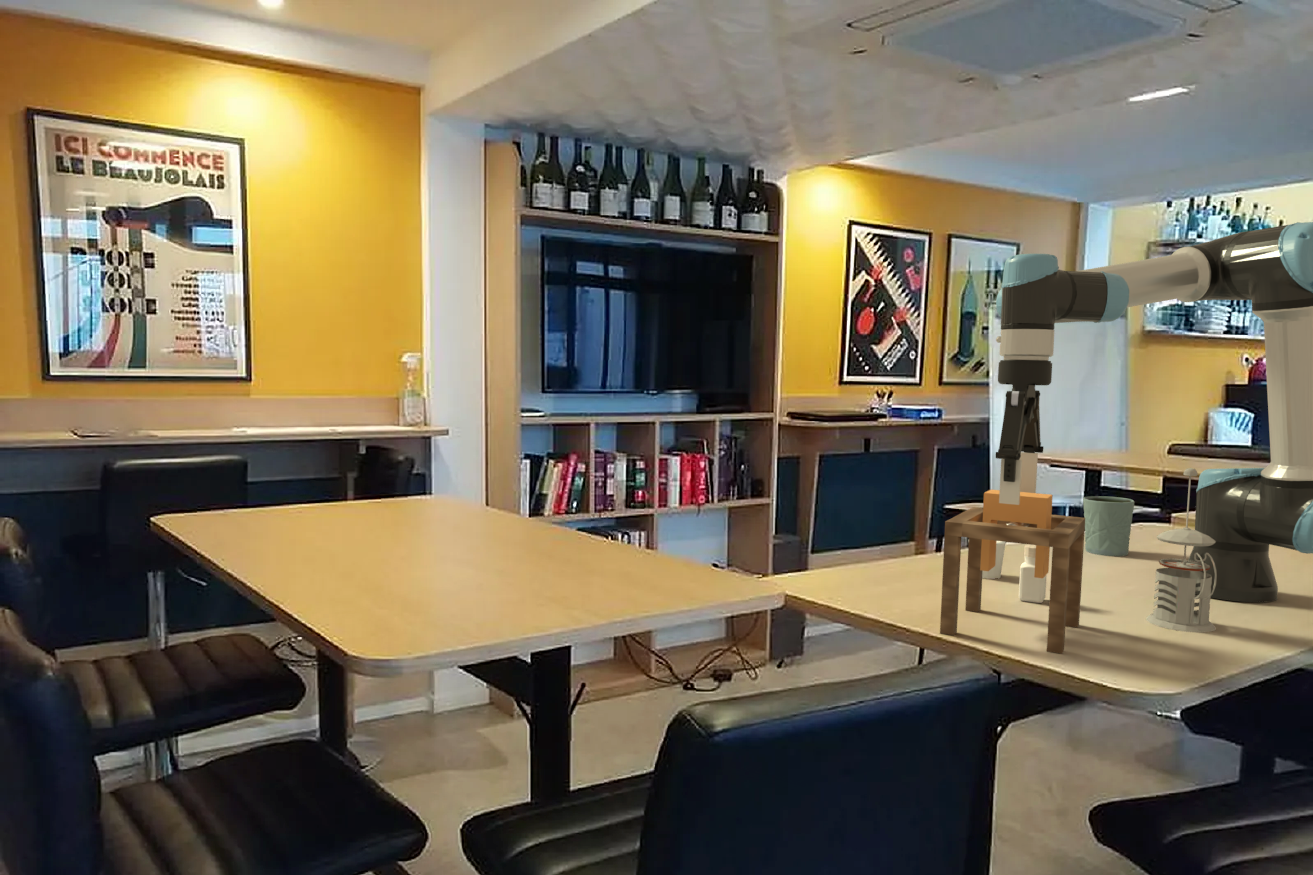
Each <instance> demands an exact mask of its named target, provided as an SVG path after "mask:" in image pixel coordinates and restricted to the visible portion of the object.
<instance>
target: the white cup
mask: <svg viewBox="0 0 1313 875" xmlns="http://www.w3.org/2000/svg"><path fill="white" fill-rule="evenodd" d="M968 543H969V539H968ZM1006 543H1007V542H1003V541H996V561H995V566H994V567H993V568H992V569H991V570H989V571H983V572H982V579H983V578H987V579H986V580H996V579H995V578H998V579H1000V578H1001V575H1002V569H1003V562H1004V555H1005V549H1006Z"/></svg>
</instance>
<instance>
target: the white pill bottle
mask: <svg viewBox="0 0 1313 875" xmlns="http://www.w3.org/2000/svg"><path fill="white" fill-rule="evenodd" d="M1035 555H1036V545H1030V544H1024V554H1023V556H1024V562H1022V563H1021V565H1020V566H1019V567H1020V568H1019V582H1018V583H1019V585H1018V599H1019V600H1020V601H1021V602H1028V603H1029V602H1030V603H1035V604H1041V603H1043V602H1044V600H1045V598H1046V592H1047V589H1046V588H1047V574H1048V573H1047V574H1046V576H1045V577H1044V578H1036V577H1034V574H1035Z"/></svg>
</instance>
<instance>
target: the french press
mask: <svg viewBox="0 0 1313 875" xmlns="http://www.w3.org/2000/svg"><path fill="white" fill-rule="evenodd" d="M1198 474H1199V473H1198V470H1196V469H1195V468H1192V467H1190V468H1186V469H1185V470H1184V471H1183V475H1184V476H1187V477H1189V478H1188V489H1187V490H1188V491H1187V492H1188V493H1187V503H1186V504H1187V506H1186V522H1185V527H1183V528H1174V529H1169V530H1166V531H1163V532H1161V533H1159V534H1158V535H1157V536H1156V538H1157V540H1159V541H1161V542H1163V543H1167V544H1172V545H1179V546H1184V547H1183V548H1184V549H1183V550H1184V552H1183V559H1182V558H1162V559H1160V560H1158V564H1159V565H1161V566H1162V568H1156V570H1155V578H1154V580H1155V581H1154V582H1155V583H1154V584H1156V583H1158V584H1157V585H1155V586H1154V592H1156V593H1154V596H1153V598H1154V599H1156V600H1155V601H1154V602H1153V607H1156V606H1157V607H1156V608H1154V609H1153V610H1152V612H1153V613H1151V614H1149V615H1148V616H1146V618H1145V620H1146V621H1147V623H1149V624H1151V625H1155V626H1157V627H1160V628H1165V629H1167V630H1173V631H1180V632H1186V633H1187V632H1188V633H1189V632H1190V633H1208V632H1209V633H1210V632H1213V631H1216V626H1215V625H1214V624H1213V623H1212V621H1210V608H1211V604H1210V603H1211V597H1210V596H1211V595H1212V594H1213V592H1214V589H1215V586H1216V577H1217V574H1216V567H1215V563H1214V561H1213V559H1212V557H1211V556H1210V554H1209V553H1206V554H1205V558H1204V559H1203V560H1202V557H1201V556H1200V555H1199V554H1198V553H1195V554H1194V559H1195V561H1197V562H1193V561H1191V560H1190V561H1189V560H1188V559H1186V557H1187V546H1188V547H1189V546H1190V547H1194V546H1211V545H1213V544H1214V543H1215V540H1213V539H1212V538H1211V537H1210V536H1208V535H1205V534H1203V533H1201V532H1199V531H1196V530H1195V529H1191V528H1190V527H1188V526H1189V524H1188V523H1189V512H1190V511H1189V510H1190V500H1191V498H1190V496H1191V480H1192V477H1197V476H1198ZM1196 554H1197V555H1198V556H1199V558H1200V560H1197V559H1196ZM1206 555H1208V556H1209V557H1210V559H1211V561H1212V563H1213V566H1214V572H1215V580H1214V586H1213V590H1212V592H1211V584H1212V576H1211V575H1210V574H1208V573H1206V571H1207V570H1209V569H1210V566H1209V565H1207V564H1206V563H1204V562H1203V561H1205V560H1206ZM1201 562H1202V563H1201ZM1200 571H1204V572H1200ZM1196 583H1201V585H1200V587H1196ZM1197 591H1200V594H1199V595H1198V594H1195V592H1197ZM1198 599H1199V600H1198ZM1196 600H1198V602H1195V601H1196ZM1197 607H1198V609H1196V610H1195V608H1197Z"/></svg>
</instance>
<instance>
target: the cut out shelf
mask: <svg viewBox="0 0 1313 875" xmlns="http://www.w3.org/2000/svg"><path fill="white" fill-rule="evenodd" d="M962 538H968V540H969V542H968V547H967V549H968V550H967V567H966V569H967V570H966V571H967V572H966V590H965V611H969V612H974V613H978V612H980V611H981V608H982V606H981V605H982V591H983V590H982V587H983V578H982V572H983V571H982V570H980V564H981V544H982V539H986V540H995V541H1003V542H1006V543H1014V544H1021V545H1022V544H1023V545H1039V546H1047V547H1050V548H1052V552H1051V554H1052V555H1051V568H1050V569H1051V570H1050V571H1051V572H1050V589H1049V607H1048V623H1047V638H1046V639H1047V642H1046V643H1047V644H1046V652H1050V653H1055V654H1060V655H1062V654H1063V653H1064V651H1065V642H1066V641H1065V638H1066V627H1070V628H1071V627H1072V628H1078V627H1079V625H1080V619H1081V616H1080V615H1081V614H1080V613H1081V597H1082V582H1083V579H1082V578H1083V565H1084V564H1083V562H1084V548H1085V546H1084V545H1085V518H1084V517H1082V516H1081V517H1079V516H1069V515H1059V514H1052V515H1051V529H1042V528H1037V524H1029V523H1020V522H1010V521H1000V520H997V524H994V523H984V522H983V507H979V506H978V507H975V506H974V507H973V506H972V507H971V508H968V509H967V510H964V511H962V512H960V513H959V514H957V515H955V516H953V517H952V518H950V519H947V520H945V521H944V540H943V541H944V543H943V544H944V545H943V559H942V560H943V561H942V562H943V563H942V579H941V580H942V584H941V585H942V586H941V604H940V605H941V607H940V623H939V624H940V626H939V628H940V629H939V634H943V635H948V636H955V635H956V634H957V632H958V614H959V613H958V612H959V598H960V597H959V596H960V595H959V594H960V578H961V577H960V576H961V572H960V571H961V552H962Z"/></svg>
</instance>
